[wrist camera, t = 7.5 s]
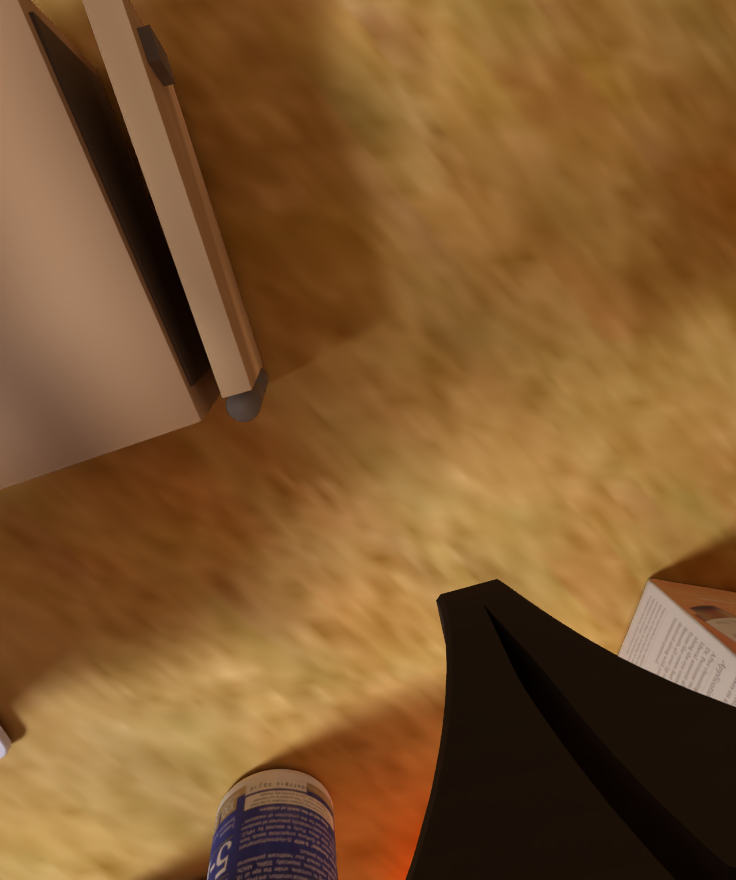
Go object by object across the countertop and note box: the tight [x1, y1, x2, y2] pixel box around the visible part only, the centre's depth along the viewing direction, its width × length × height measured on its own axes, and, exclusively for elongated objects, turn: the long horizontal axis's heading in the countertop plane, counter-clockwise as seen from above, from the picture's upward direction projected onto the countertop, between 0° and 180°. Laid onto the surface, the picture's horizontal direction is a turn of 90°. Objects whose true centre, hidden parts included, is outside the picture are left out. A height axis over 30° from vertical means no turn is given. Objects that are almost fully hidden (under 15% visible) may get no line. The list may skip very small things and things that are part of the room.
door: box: [82, 0, 268, 422], centre depth 15 cm, size 1×10×5 cm, turn 14°
